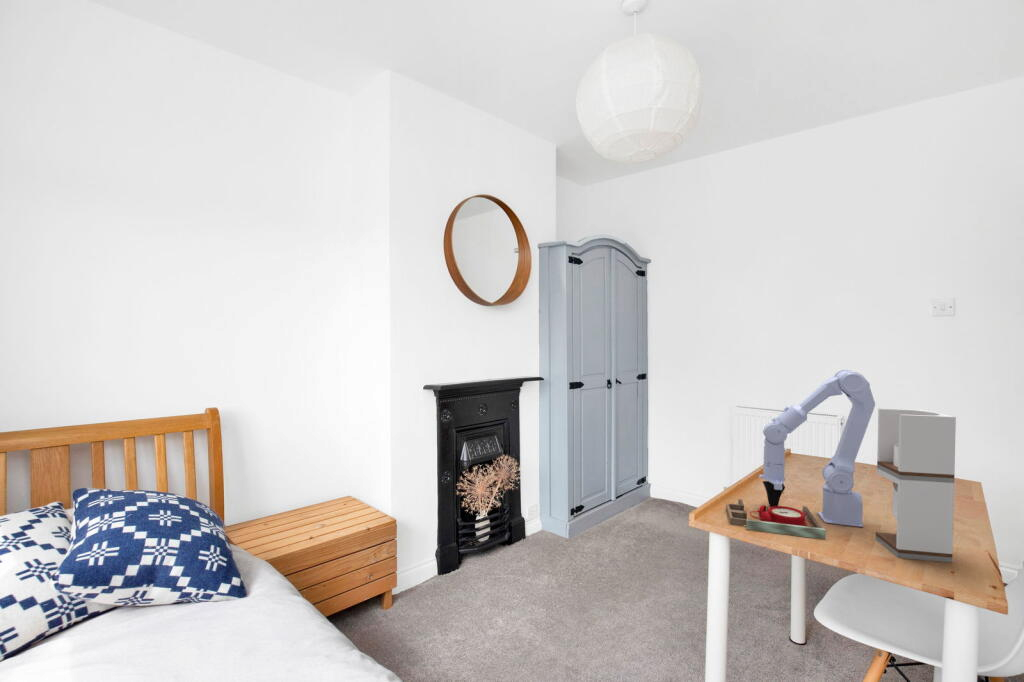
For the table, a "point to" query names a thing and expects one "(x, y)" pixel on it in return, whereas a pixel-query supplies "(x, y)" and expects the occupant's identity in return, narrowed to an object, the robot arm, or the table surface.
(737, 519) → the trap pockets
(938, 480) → the display case
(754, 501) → the table surface
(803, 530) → the wall
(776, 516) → the alarm clock
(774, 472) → the robot arm
